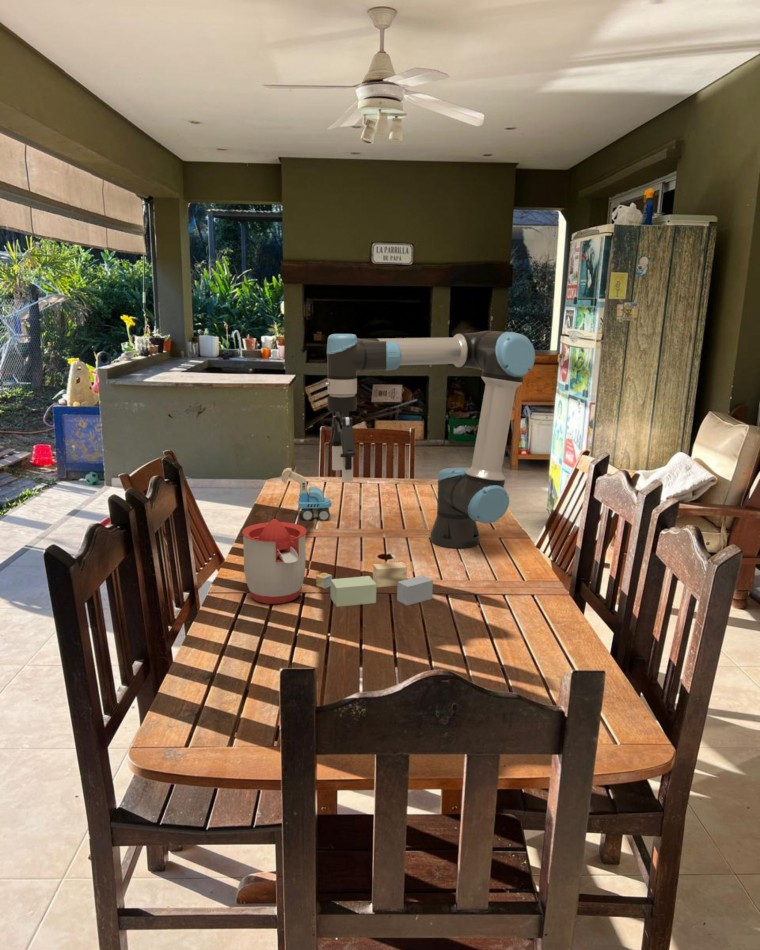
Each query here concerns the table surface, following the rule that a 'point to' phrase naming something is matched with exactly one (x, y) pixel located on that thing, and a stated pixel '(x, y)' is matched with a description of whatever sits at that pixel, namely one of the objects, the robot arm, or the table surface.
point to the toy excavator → (309, 498)
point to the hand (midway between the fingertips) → (342, 475)
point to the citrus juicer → (274, 560)
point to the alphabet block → (323, 580)
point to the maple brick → (389, 574)
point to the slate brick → (414, 590)
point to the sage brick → (353, 591)
